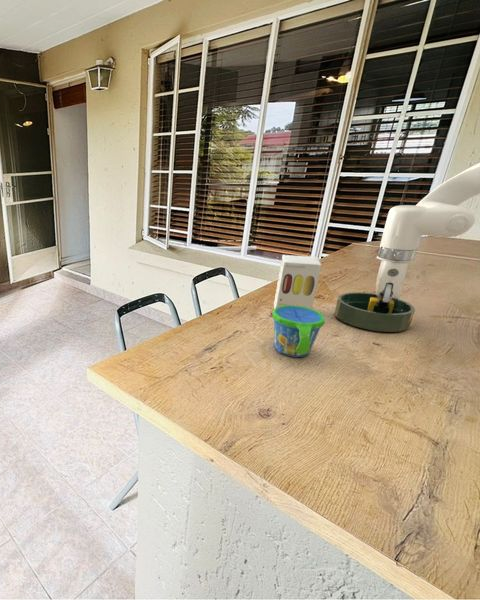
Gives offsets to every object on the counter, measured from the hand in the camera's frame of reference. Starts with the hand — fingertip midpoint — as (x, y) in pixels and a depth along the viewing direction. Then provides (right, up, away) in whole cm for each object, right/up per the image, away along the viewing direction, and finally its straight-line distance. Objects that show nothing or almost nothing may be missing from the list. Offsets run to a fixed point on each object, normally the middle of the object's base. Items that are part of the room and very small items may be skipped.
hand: (378, 316), depth 99 cm
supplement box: (-19, +1, +9) cm, 21 cm away
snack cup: (-32, -8, -12) cm, 35 cm away
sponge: (0, -1, 0) cm, 1 cm away
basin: (-2, -1, +1) cm, 2 cm away
